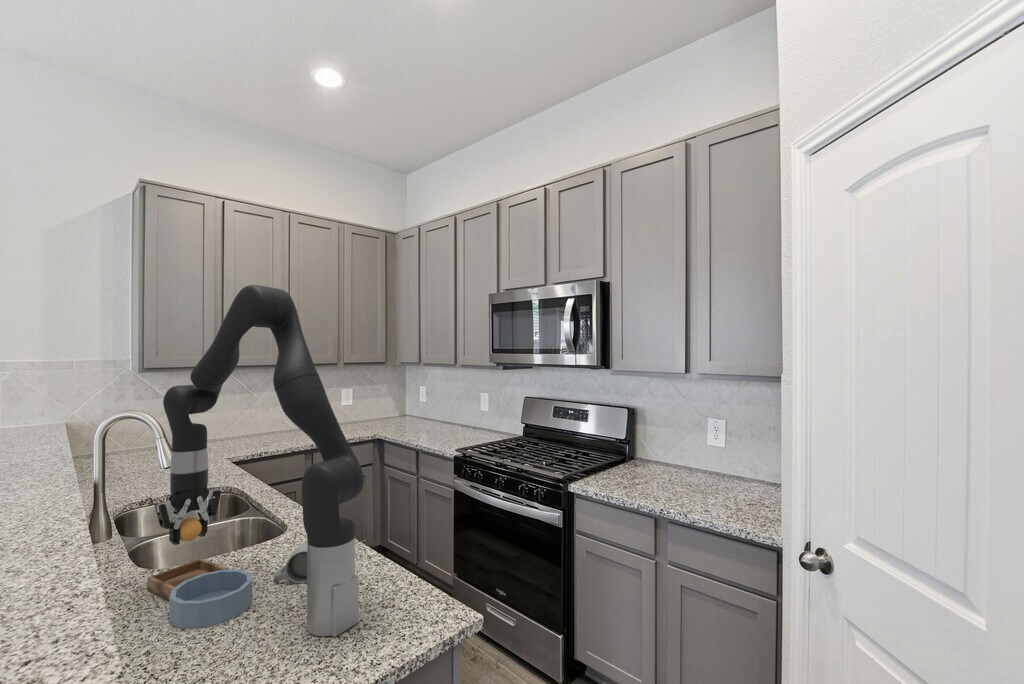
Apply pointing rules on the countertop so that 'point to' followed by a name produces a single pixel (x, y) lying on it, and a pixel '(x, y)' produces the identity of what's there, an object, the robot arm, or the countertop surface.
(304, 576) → the ceramic mug
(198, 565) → the tray
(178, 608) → the faceted grey bowl
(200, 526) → the ball
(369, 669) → the countertop surface
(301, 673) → the countertop surface
